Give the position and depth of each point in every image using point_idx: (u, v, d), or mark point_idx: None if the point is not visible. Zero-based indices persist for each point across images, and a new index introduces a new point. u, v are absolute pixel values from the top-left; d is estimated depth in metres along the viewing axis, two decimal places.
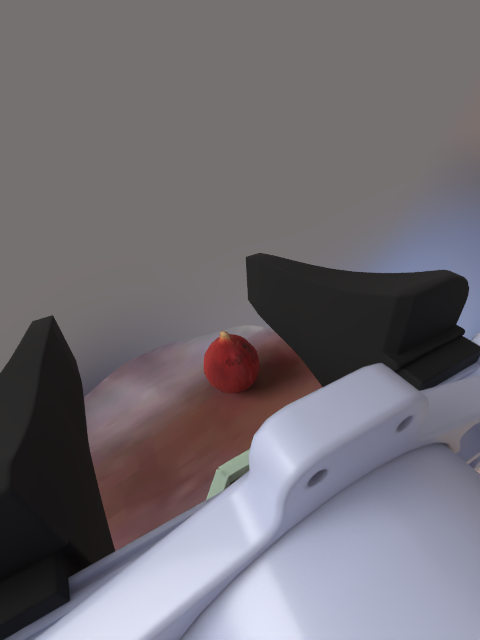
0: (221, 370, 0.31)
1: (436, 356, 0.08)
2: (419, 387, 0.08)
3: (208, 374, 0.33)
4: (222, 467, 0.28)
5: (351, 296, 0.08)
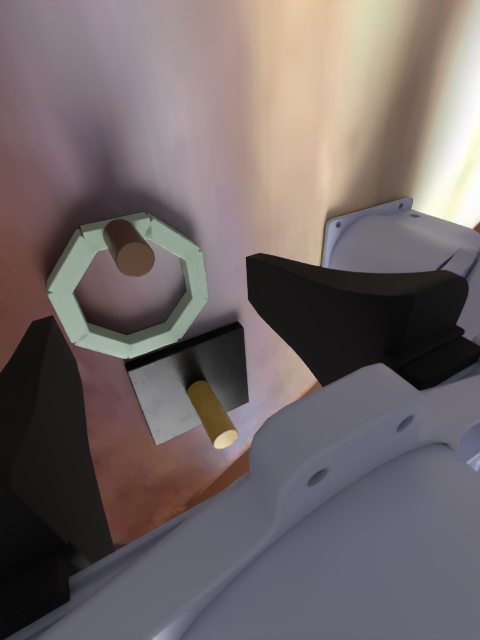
0: None
1: (436, 356, 0.08)
2: (419, 387, 0.08)
3: None
4: (73, 338, 0.20)
5: (351, 296, 0.08)
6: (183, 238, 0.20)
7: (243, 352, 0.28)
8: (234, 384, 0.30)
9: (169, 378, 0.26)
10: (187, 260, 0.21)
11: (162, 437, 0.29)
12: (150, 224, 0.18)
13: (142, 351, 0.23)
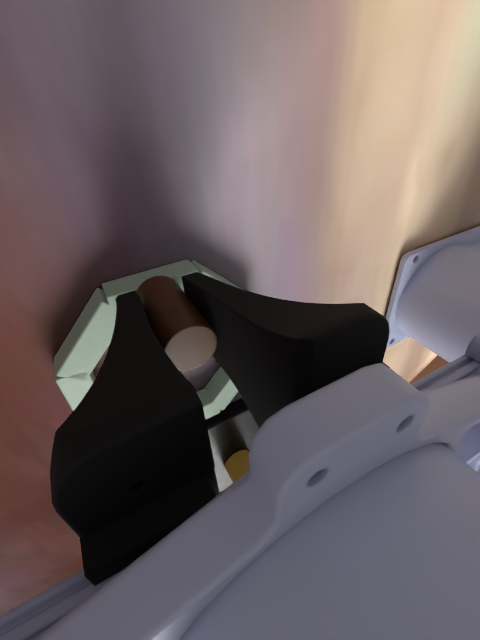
0: None
1: None
2: None
3: None
4: None
5: (261, 331, 0.07)
6: None
7: None
8: None
9: None
10: None
11: None
12: None
13: None
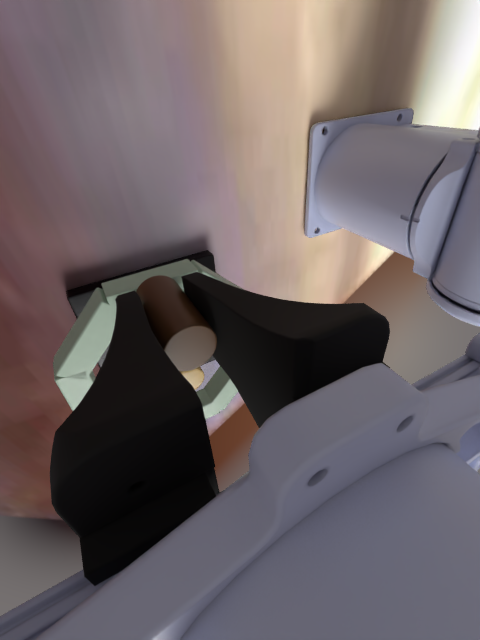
0: None
1: None
2: None
3: None
4: None
5: (261, 331, 0.07)
6: None
7: None
8: None
9: None
10: None
11: None
12: None
13: None
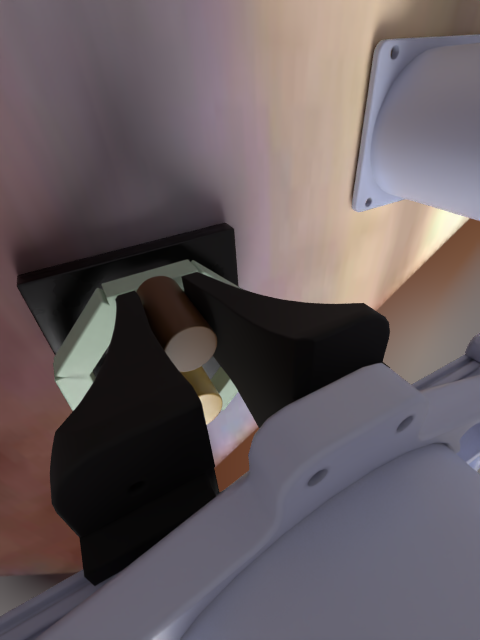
0: None
1: None
2: None
3: None
4: None
5: (261, 331, 0.07)
6: None
7: (234, 278, 0.17)
8: None
9: None
10: None
11: None
12: None
13: None
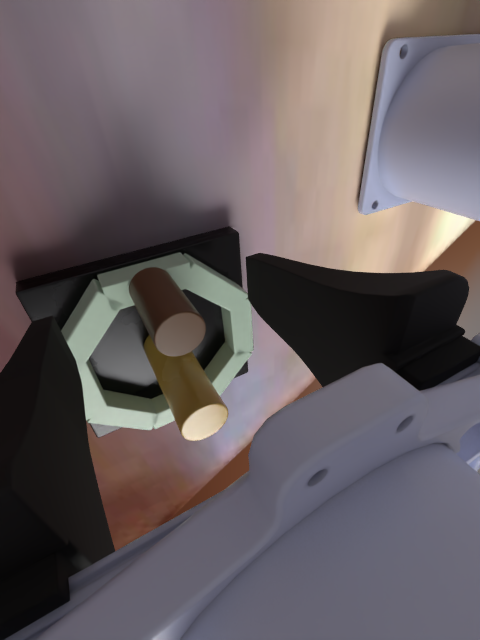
0: None
1: (436, 356, 0.08)
2: (419, 387, 0.08)
3: None
4: (86, 415, 0.15)
5: (351, 296, 0.08)
6: (229, 285, 0.15)
7: (239, 282, 0.17)
8: None
9: None
10: (232, 310, 0.16)
11: None
12: (189, 271, 0.14)
13: (170, 419, 0.18)
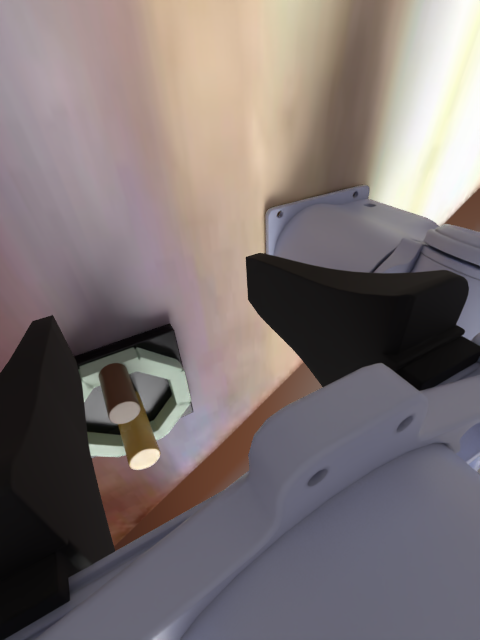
0: None
1: (436, 356, 0.08)
2: (419, 387, 0.08)
3: None
4: None
5: (351, 296, 0.08)
6: (167, 365, 0.23)
7: (178, 358, 0.25)
8: None
9: None
10: (171, 379, 0.24)
11: None
12: (138, 361, 0.22)
13: None
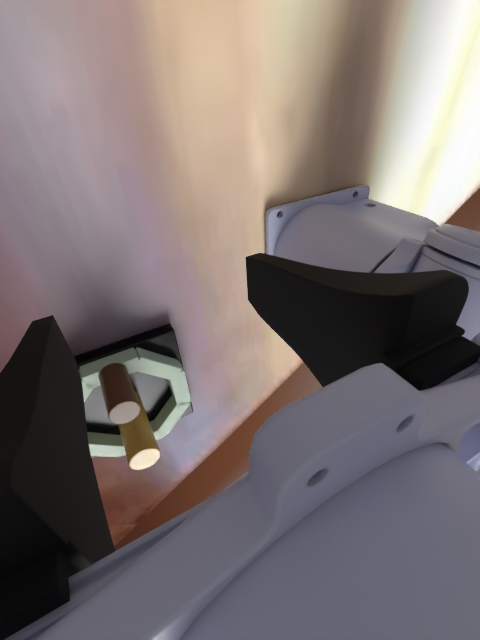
0: None
1: (436, 356, 0.08)
2: (419, 387, 0.08)
3: None
4: None
5: (351, 296, 0.08)
6: (167, 365, 0.23)
7: (178, 358, 0.25)
8: None
9: None
10: (171, 379, 0.24)
11: None
12: (138, 361, 0.22)
13: None
